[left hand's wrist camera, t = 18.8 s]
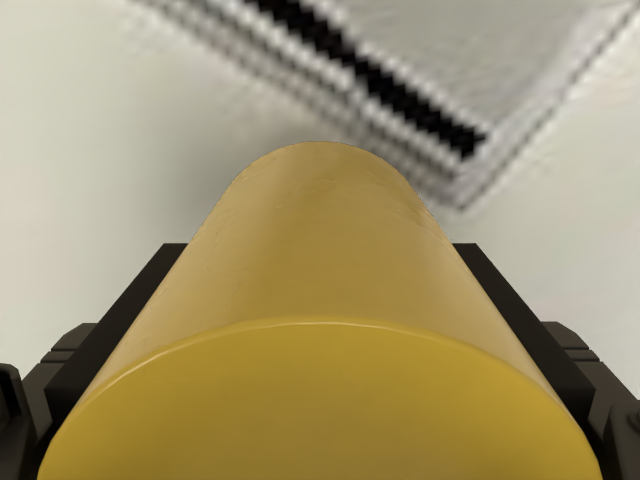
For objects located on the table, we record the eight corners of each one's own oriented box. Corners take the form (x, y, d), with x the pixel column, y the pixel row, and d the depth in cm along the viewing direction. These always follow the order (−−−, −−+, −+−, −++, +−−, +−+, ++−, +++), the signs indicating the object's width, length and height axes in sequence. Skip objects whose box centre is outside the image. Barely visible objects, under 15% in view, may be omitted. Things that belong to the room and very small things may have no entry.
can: (349, 373, 19) (385, 759, 8) (173, 280, 17) (-47, 616, 7) (474, 218, 16) (741, 500, 6) (282, 92, 15) (191, 181, 4)
